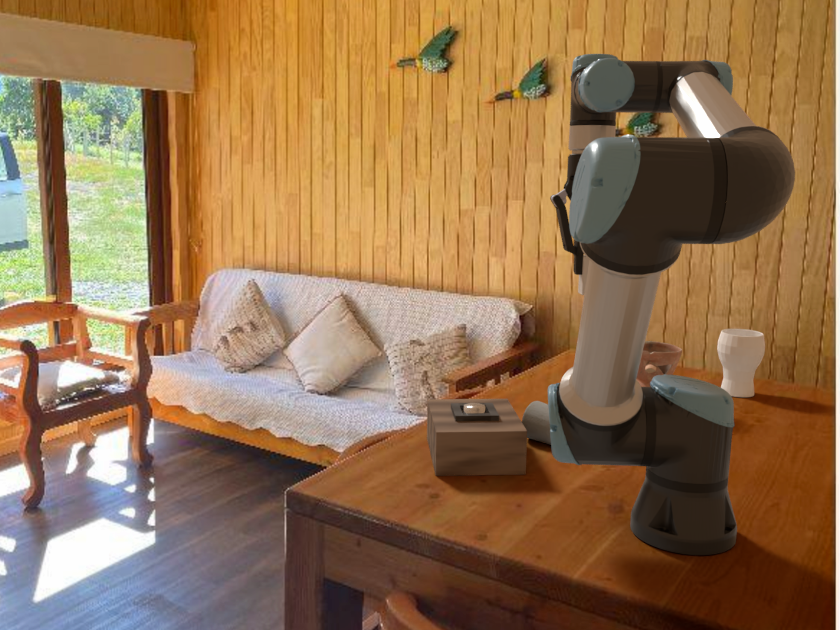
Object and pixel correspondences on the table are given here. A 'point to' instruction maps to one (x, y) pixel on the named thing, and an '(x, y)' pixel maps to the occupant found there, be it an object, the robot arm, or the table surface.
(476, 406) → the peg
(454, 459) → the socket block
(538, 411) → the ceramic mug
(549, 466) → the table surface
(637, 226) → the robot arm
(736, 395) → the cup
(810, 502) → the table surface
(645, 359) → the ceramic jug
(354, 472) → the table surface
